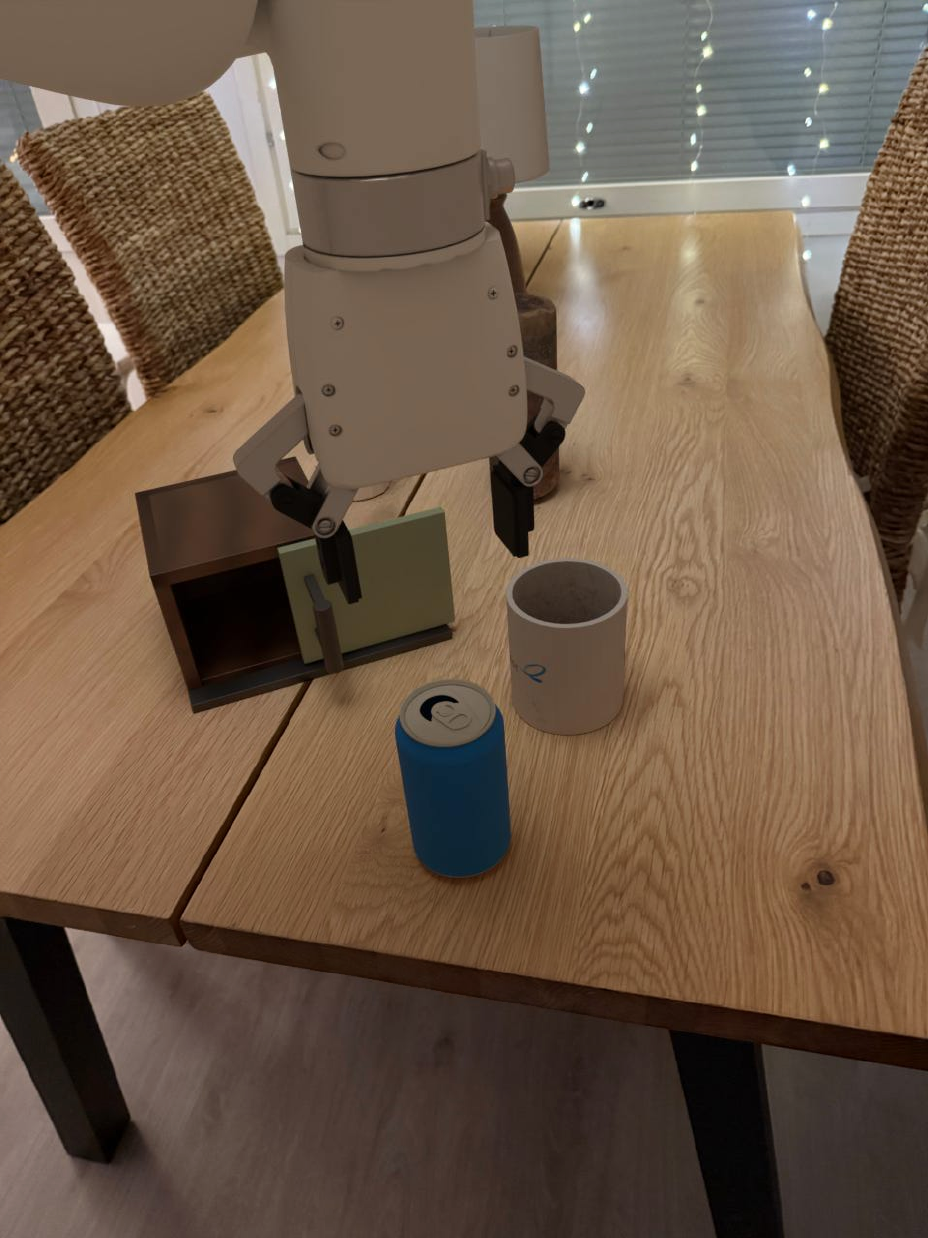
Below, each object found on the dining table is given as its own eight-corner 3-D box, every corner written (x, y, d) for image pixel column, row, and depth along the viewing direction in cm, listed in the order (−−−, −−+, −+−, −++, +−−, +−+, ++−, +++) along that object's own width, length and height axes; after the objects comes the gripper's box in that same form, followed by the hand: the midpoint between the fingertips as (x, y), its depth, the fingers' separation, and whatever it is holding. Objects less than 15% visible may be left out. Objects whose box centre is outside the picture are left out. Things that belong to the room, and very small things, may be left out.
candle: (508, 467, 102) (499, 284, 90) (570, 477, 100) (569, 289, 88) (479, 499, 97) (465, 310, 85) (543, 511, 94) (539, 316, 82)
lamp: (559, 288, 151) (556, 20, 129) (541, 328, 136) (534, 35, 114) (449, 288, 155) (428, 29, 133) (420, 327, 141) (391, 44, 118)
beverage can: (465, 792, 64) (451, 659, 57) (532, 843, 60) (526, 708, 53) (394, 845, 61) (369, 712, 54) (459, 903, 57) (442, 767, 50)
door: (319, 703, 71) (294, 589, 65) (302, 658, 76) (276, 547, 69) (477, 656, 74) (468, 543, 68) (451, 615, 79) (441, 506, 73)
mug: (636, 726, 68) (641, 619, 62) (521, 742, 68) (516, 635, 62) (598, 627, 78) (599, 526, 72) (497, 640, 78) (491, 540, 72)
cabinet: (193, 713, 73) (151, 590, 66) (171, 606, 85) (134, 492, 78) (452, 638, 78) (440, 516, 71) (397, 547, 91) (381, 436, 83)
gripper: (548, 161, 42) (553, 495, 52) (163, 222, 38) (252, 573, 48) (628, 191, 36) (616, 560, 47) (185, 268, 32) (280, 654, 43)
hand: (431, 565), depth 47 cm, fingers open, 8 cm apart
